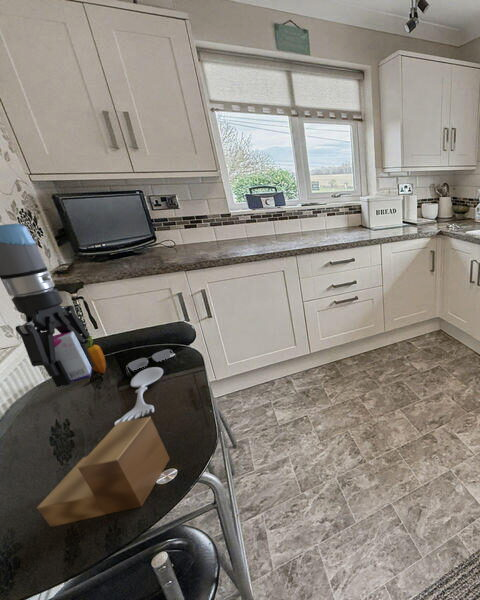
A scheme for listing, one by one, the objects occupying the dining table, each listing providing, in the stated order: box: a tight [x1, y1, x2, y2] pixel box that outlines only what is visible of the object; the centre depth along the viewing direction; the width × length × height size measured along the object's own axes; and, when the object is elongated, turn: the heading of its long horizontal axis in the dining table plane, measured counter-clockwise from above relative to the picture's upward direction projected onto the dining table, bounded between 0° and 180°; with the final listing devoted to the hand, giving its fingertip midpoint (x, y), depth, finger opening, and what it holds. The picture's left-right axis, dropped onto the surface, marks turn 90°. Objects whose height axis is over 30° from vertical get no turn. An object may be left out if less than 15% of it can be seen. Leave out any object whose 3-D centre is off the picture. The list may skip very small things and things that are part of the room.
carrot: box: [85, 335, 107, 375], centre depth 115 cm, size 5×5×15 cm
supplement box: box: [47, 331, 93, 383], centre depth 82 cm, size 6×6×12 cm
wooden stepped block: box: [36, 416, 171, 528], centre depth 67 cm, size 16×12×12 cm
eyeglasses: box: [125, 349, 179, 379], centre depth 117 cm, size 14×8×4 cm, turn 136°
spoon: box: [114, 366, 164, 426], centre depth 100 cm, size 9×32×4 cm, turn 32°
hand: (76, 375), depth 84 cm, fingers closed on supplement box, 8 cm apart
